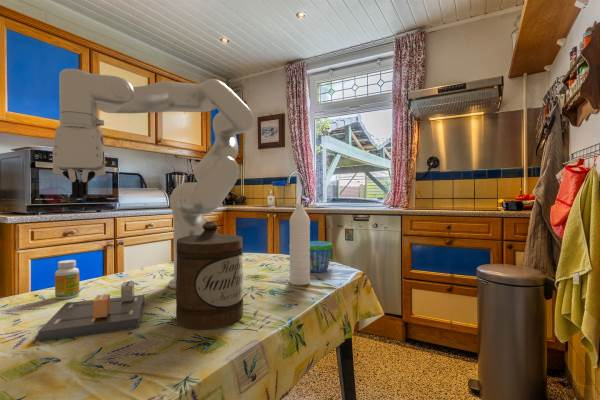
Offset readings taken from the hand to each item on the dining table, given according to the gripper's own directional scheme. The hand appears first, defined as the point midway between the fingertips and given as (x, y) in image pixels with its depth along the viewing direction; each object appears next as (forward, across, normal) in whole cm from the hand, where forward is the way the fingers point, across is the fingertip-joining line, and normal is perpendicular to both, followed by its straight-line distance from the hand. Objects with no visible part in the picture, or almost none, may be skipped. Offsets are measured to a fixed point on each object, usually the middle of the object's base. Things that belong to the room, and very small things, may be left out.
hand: (80, 198), depth 78 cm
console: (+27, -6, +10) cm, 29 cm away
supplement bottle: (+27, +6, -12) cm, 30 cm away
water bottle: (+27, -59, 0) cm, 65 cm away
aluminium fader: (+25, -11, +4) cm, 27 cm away
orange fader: (+25, -7, +14) cm, 29 cm away
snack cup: (+27, -70, -13) cm, 76 cm away
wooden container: (+27, -29, +17) cm, 43 cm away
